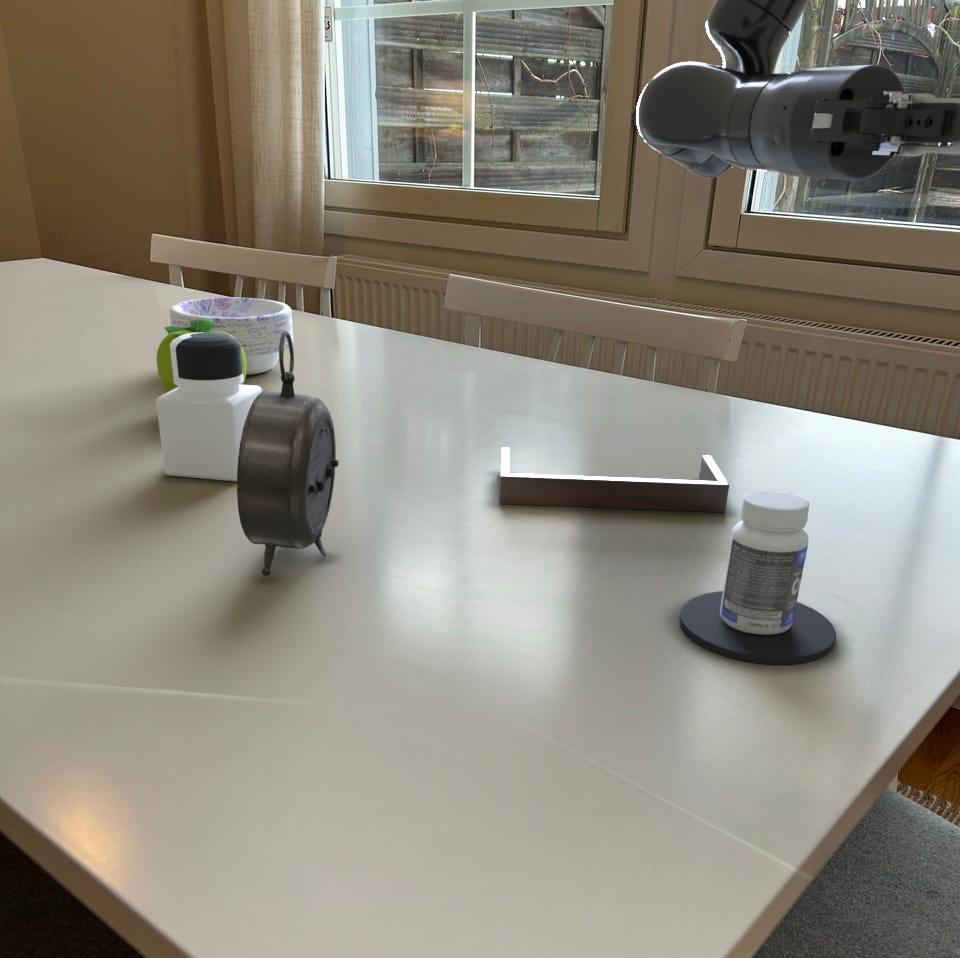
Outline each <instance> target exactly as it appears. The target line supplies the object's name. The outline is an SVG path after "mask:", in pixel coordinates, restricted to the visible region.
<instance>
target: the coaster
mask: <svg viewBox="0 0 960 958" xmlns="http://www.w3.org/2000/svg"><path fill="white" fill-rule="evenodd" d="M722 594H723V590H720V591H713V592H708V593H707V592H706V593H703V594H699V595H697V596H695V597H692V598H691V599H688V601H686V602H685V603H684V604H683V606H682V607H681V609H680V612H679V625H680V628H681V630H682V631H683V632H684V633H685V635H686V636H687V637H689V638H690V639H691V640H692V641H693V642H695V643H696V644H698V645H699V646H701V647H703V648H705V649H707V650H709V651H711V652H712V653H713V652H714V653H716V654H719V655H721V656H724V657H728V658H731V659H734V660H739V661H744V662H749V663H753V664H762V665H763V664H764V665H777V666H779V665H797V664H804V663H809V662H813V661H815V660H818V659H821V658H823V657H824V656H826V655H828V654H829V653H830V652H831V651H832V649H833V648H834V646H835V643H836V640H837V632H836V629H835V627H834V624H832V622H831V621H830V620H829V618H827V617H826V616H824V614H822V613H820V612H819V611H818V610H816V609H814V608H812V607H811V606H808V605H806V604H803V603H801V602H799V601H797V603H796V609H795V614H794V619H793V623H792V625H791V627H790V628H789V629H788V630H787V631H785V632H783V633H779V634H774V635H759V634H750V633H746V632H742V631H739V630H736V629H734V628H732V627H730V626H728V625H727V624H726V623H725V622H724V621H723V620H722V618H721V616H720V607H721V598H722Z"/></svg>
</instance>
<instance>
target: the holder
mask: <svg viewBox="0 0 960 958" xmlns="http://www.w3.org/2000/svg"><path fill="white" fill-rule="evenodd" d="M510 455H511V454H510V447H501V448H500V461H499V494H498V495H499V496H498V497H499V500H498V502H499V503H498V504H500V505H521V506H523V505H524V506H548V507H574V508H577V507H578V508H601V509H602V508H604V509H624V510H626V509H628V510H652V511H654V510H655V511H678V512H679V511H680V512H703V513H705V512H707V513H709V512H710V513H726V510H727V503H728V497H729V491H730V484H729V482H728V480H727V478H726V477H725V476H724V474H723V473H722V471H721V469H720V468H719V466H718V464H717V463H716V461H715V459H713V457H712V455H709V454H708V455H707V454H706V455H704V454H703V455H702V456H701V461H700V470H699V475H698V476H699V477H698V480H695V479H693V480H692V479H669V478H668V479H667V478H646V477H645V478H643V477H618V476H590V475H589V476H588V475H565V474H538V473H514V472H513V473H510V471H511V469H510V467H511V466H510V465H511V464H510V462H511V461H510V460H511V459H510Z"/></svg>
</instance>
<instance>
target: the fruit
mask: <svg viewBox="0 0 960 958" xmlns="http://www.w3.org/2000/svg"><path fill="white" fill-rule="evenodd" d="M190 324H191V325H192V327H184V326H171V325H168V326H164V330H165V331H166V333H167V335H165V336H164V338H163V339H162V340H161V342H160V343H159V345H158V347H157V348H158V349H157V350H156V366H157V373H158V376H159V380H160V383H161V385H162V388H163V389H164V392H166V393H168V392H170V391H172V390H174V389H176V388H178V385H176V384H174V379H173V370H172V361H171V352H170V343H171V342H172V340H174V339H175V338H177V337H179V336H181V335H184V334H189V333H199V332H214V333H223V334H227V335H230V336H232V335H231V334H229V333H227V332H221V331H219V332H217V331H212V330H210V329H212V328H213V326H214V321H212V320H208V319H196V320H191V321H190ZM232 337H233V336H232ZM241 355H242V368H243V382H242V383H241V385H244V382H245V380H246V376H247V375H246V368H247V364H246V357H245V354H244V351H243V349H242V347H241Z"/></svg>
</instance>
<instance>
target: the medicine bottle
mask: <svg viewBox="0 0 960 958" xmlns="http://www.w3.org/2000/svg"><path fill="white" fill-rule="evenodd" d="M170 352H171V361H172V370H173V379H174V384H176V385H178V388H176V389H174V390H172V391H170V392H168V393H167V392H166V393H163V394H161V395H160V396H157V398H155V399H156V400H155V403H156V410H157V420H158V428H159V437H160V443H161V452H162V461H163V468H164V469H163V470H164V474H165V475H166V476H171V477H181V478H191V479H192V478H193V479H203V480H204V479H205V480H214V481H215V480H216V481H226V482H237V467H238V456H239V448H240V442H241V435H242V432H243V431H242V430H243V427H244V423H245V420H246V417H247V414H248V412H249V409H250V407H251V405H252V403H253V401H254V400H255V398H256V397H257V396H258V395H259V394H260V393H261V392H263V390H262V387H261V386H259V385H253V384H243V385H241V383H242V382H243V368H242V355H241V344H240V342H239V341H238V340H237V339H236V338H234V337H232V336H230V335H227V334H223V333H214V332H199V333H189V334H184V335H181V336H179V337H177V338H175V339H174V340H172V342H171V343H170Z"/></svg>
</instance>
